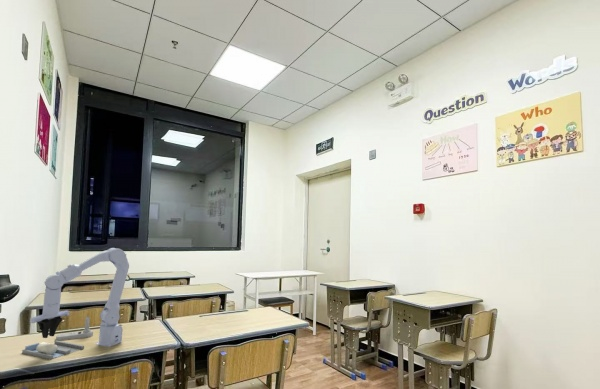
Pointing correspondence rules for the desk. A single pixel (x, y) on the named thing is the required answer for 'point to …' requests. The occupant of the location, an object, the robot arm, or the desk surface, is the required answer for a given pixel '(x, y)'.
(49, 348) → the beige rounded block
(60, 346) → the tray
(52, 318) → the robot arm
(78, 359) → the desk surface
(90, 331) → the electronic device
